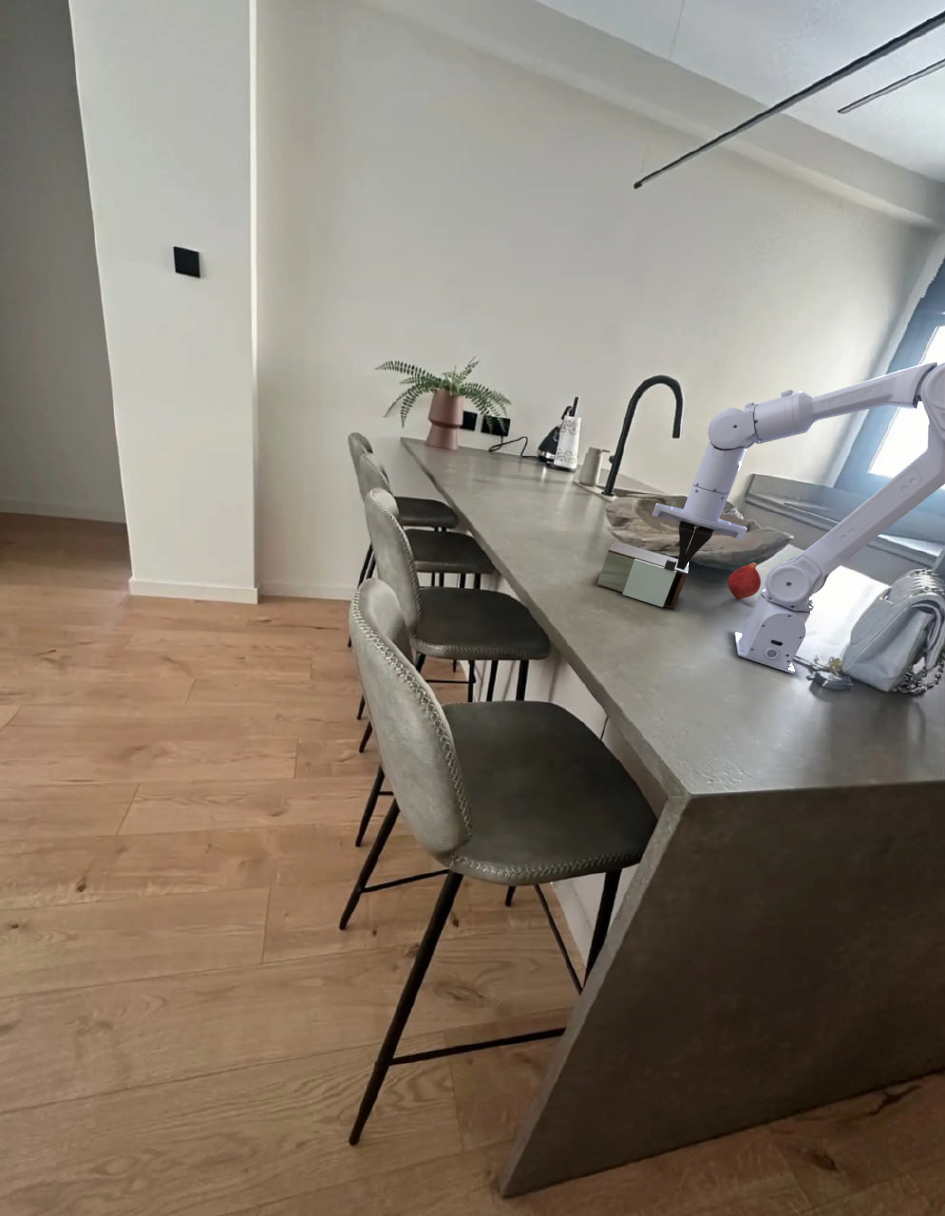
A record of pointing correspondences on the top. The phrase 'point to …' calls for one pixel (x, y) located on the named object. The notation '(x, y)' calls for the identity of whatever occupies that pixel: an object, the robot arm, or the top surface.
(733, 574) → the onion
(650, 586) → the sliding door
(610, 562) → the cabinet
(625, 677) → the top surface
